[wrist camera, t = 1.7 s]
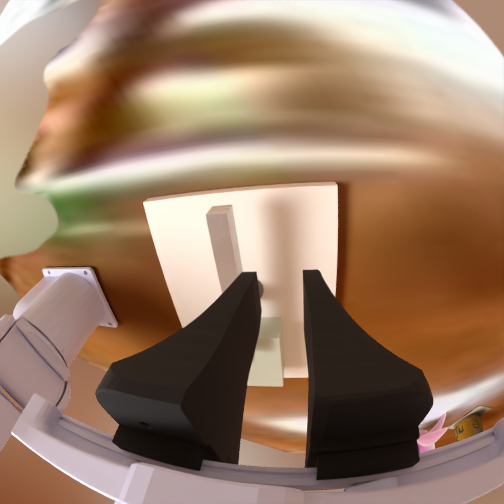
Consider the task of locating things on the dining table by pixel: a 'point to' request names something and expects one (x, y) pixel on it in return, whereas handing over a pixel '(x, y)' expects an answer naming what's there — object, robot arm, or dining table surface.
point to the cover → (268, 355)
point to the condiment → (469, 424)
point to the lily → (431, 436)
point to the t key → (224, 244)
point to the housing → (251, 250)
